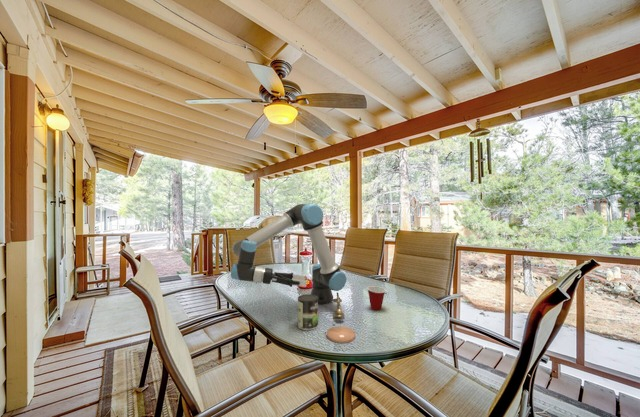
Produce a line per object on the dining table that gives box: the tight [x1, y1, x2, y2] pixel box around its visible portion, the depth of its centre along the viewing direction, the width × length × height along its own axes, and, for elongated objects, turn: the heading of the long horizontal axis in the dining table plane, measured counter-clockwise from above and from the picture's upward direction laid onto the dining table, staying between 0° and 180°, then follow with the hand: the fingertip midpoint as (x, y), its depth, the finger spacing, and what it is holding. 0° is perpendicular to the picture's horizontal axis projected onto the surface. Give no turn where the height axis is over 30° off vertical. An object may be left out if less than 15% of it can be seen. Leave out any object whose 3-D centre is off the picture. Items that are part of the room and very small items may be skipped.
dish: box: [326, 325, 356, 344], centre depth 120 cm, size 13×13×2 cm
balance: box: [332, 291, 345, 320], centre depth 141 cm, size 17×6×11 cm, turn 1°
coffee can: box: [297, 293, 319, 331], centre depth 130 cm, size 10×10×14 cm
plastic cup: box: [366, 285, 387, 312], centre depth 152 cm, size 11×11×12 cm
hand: (305, 281), depth 131 cm, fingers open, 13 cm apart
